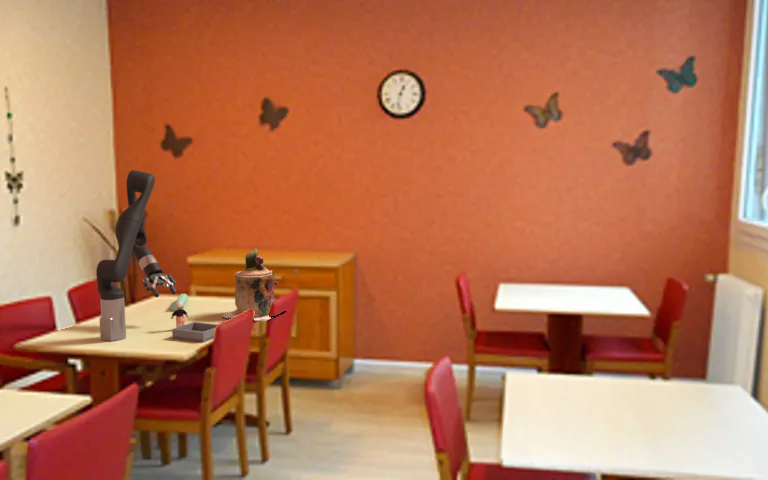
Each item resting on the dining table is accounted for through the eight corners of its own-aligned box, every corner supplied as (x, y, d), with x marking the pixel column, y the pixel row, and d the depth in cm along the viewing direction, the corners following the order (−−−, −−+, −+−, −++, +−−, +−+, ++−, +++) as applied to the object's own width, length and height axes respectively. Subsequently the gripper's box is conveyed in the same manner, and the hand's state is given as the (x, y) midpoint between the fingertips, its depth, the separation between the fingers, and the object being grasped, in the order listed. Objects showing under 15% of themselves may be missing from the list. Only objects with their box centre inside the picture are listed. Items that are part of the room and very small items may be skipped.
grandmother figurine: (186, 327, 301) (185, 299, 300) (190, 329, 298) (189, 301, 297) (169, 330, 296) (168, 302, 295) (173, 332, 293) (172, 303, 292)
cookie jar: (220, 319, 318) (217, 251, 314) (245, 308, 341) (243, 245, 338) (267, 322, 311) (265, 253, 307) (290, 311, 334) (288, 247, 331)
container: (180, 290, 358) (174, 298, 334) (191, 294, 359) (185, 302, 335) (176, 300, 358) (169, 309, 334) (187, 304, 360) (181, 313, 335)
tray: (203, 342, 276) (203, 332, 276) (172, 338, 283) (172, 329, 282) (224, 334, 289) (224, 325, 289) (194, 330, 295) (193, 321, 295)
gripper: (139, 263, 300) (155, 292, 294) (167, 260, 311) (183, 287, 305) (133, 274, 303) (149, 302, 298) (161, 270, 315) (176, 297, 309)
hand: (166, 294), depth 301 cm, fingers open, 8 cm apart
